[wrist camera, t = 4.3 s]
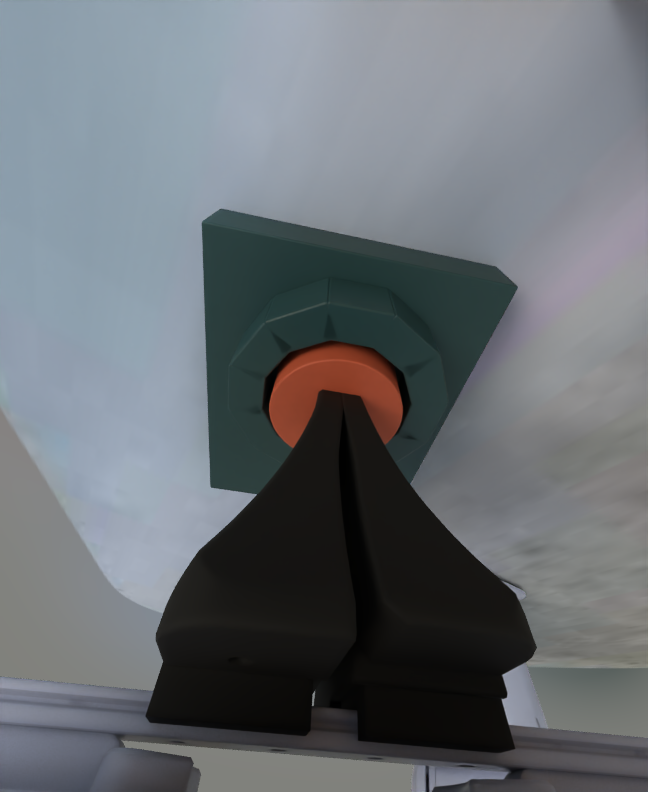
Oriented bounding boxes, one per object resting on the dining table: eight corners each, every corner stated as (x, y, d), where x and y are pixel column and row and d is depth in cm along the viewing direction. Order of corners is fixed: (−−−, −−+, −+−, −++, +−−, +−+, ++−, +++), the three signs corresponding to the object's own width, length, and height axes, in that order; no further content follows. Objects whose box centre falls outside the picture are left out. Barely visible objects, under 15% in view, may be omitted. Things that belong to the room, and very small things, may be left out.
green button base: (389, 484, 20) (398, 549, 17) (220, 458, 20) (197, 522, 17) (497, 266, 13) (549, 314, 9) (219, 207, 12) (175, 238, 9)
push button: (376, 425, 15) (380, 468, 13) (273, 408, 14) (263, 451, 13) (411, 336, 12) (423, 374, 10) (285, 312, 12) (275, 347, 10)
